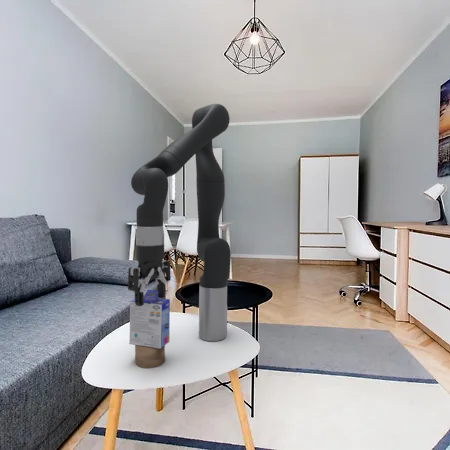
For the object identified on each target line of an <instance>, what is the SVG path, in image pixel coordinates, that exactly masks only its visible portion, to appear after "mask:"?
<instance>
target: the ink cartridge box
mask: <svg viewBox="0 0 450 450" xmlns="http://www.w3.org/2000/svg"><path fill="white" fill-rule="evenodd" d="M158 292H159V291H157V290H152V289H147V290H146V292H145V296H144V305H143V306H137V305H136V304H135V298H134V299H132V300H130V301H129V343H128V344H129V345H132V346H135V345H139V346H146V347H153V348H162V347H163V346H165V347H166V345H167V344H169V342H170V314H171V313H170V311H171V309H170V308H171V307H170V305H171V303H170V301H171V300H170V298H159V297H158ZM149 294H155V295H149Z"/></svg>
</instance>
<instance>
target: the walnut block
mask: <svg viewBox="0 0 450 450" xmlns="http://www.w3.org/2000/svg"><path fill="white" fill-rule="evenodd" d="M165 347H166V345H165V346H163V347H162V348H153V347H146V346H139V345H134V364H135V365H136V366H137V367H138V368H142V369H152V368H157V367H160V366H161V365H163V364H164V362H165V360H166V358H165V357H166V355H165V354H166V352H165V351H166V349H165Z"/></svg>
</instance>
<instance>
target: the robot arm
mask: <svg viewBox="0 0 450 450" xmlns="http://www.w3.org/2000/svg"><path fill="white" fill-rule="evenodd" d="M229 125H230V114H229V111H228V110H227V108H226V106H224V105H223V104H220V103H212V104H208V105H206V106H202V107H199V108H197V109H196V110H194V112H193V115H192V117H191V129H190V130H188V131H187V132H186V133H185V132H184V134H183V135H180V136H179V137H177V138H176V139H175V140H173V141H172V142H171V143H170V144H168V145H167V146H166V147H165V148H164V149H162V151H160V153H159V154H158V155H157V156H156V157H154V158H152V159H151V160H149V161H148V162H146V163H145V164H143V165H142V166H141V167H139V168H138V169H137V170H136V171H135V172H134V173H133V174H132V177H131V181H130V183H131V188H132V190H133V191H134V192H135V193H136V194H137V195H141V196H144V197H143V202H142V204H139V205H138V206H137V208H136V214H135V215H136V228H135V229H136V230H135V231H136V232H135V259H136V261H137V263H138V265H137V267H130V266H129V268H128V277H127V290H128V291H131V292H133V293H134V299H135V304H136V305H137V306H143V305H144V297H145V296H144V293H145V292H144V289H145V287H146V286H147V285H148V284H149V283H150V282H151V281H153V280H155V281H156V282H157V285H156V291H159V292H158V296H157V298H160V299H165V297H166V284H167V283H168V282H170V281H171V279H172V278H171V261H170V260H164V259H165V231H164V208H165V204H166V201H167V196H168V190H169V180H168V178H169V177H173V176H175V175H176V174H177V173H178V172H179V171H180V170H182V168H183V167H184V166H185V165H186V164H187V163H188V161H190V160H191V159H192V158H193V157H194V156H195V170H196V171H195V172H196V176H195V177H196V182H195V183H196V198H197V199H196V201H197V203H196V204H197V219H198V222H197V223H198V224H197V226H198V227H197V241H196V253H197V256H198V258H199V259H200V260H201V262H203V273H202V275H200V276H199V292H198V300H199V301H198V337H199V339H200V340H203V341H207V342H219V341H222V340H225V338H226V337H227V333H228V280H229V278H230V273H231V259H232V258H231V256H232V253H231V252H232V251H231V247H230V244H229V242H228V241H227V240H225V239H224V238H222V237H220V229H219V228H220V227H219V226H220V225H219V223H220V216H221V213H222V209H223V206H224V202H225V197H226V196H225V195H226V188H225V187H226V186H225V185H226V183H225V181H226V180H225V174H224V172H223V170H222V168H221V166H220V164H219V162H218V160H217V159H216V157H215V154H214V153H215V152H214V148H213V139H215V138H217V137H218V136H220V135H221V134H222V133H224V132H225V131H226V130H227V129H228V127H229Z"/></svg>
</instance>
